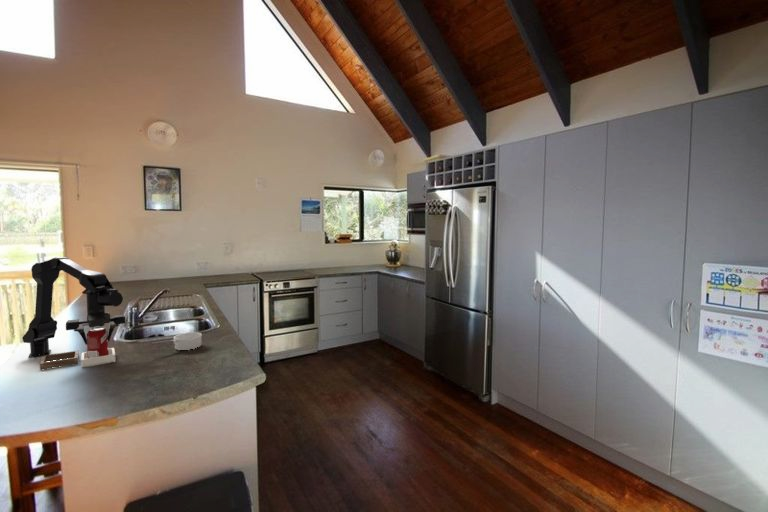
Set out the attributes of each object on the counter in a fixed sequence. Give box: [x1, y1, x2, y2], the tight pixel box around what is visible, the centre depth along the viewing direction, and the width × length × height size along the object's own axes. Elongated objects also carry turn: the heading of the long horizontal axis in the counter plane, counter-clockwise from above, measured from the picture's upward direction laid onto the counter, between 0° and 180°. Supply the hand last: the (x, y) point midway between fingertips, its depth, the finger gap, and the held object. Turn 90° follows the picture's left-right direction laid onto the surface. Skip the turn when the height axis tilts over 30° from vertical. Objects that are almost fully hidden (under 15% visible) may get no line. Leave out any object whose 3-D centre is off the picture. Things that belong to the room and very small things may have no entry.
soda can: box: [86, 326, 109, 358], centre depth 148 cm, size 7×7×12 cm
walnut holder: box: [39, 350, 80, 371], centre depth 146 cm, size 11×11×2 cm
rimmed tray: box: [80, 347, 116, 368], centre depth 149 cm, size 11×11×3 cm
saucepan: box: [151, 331, 203, 351], centre depth 163 cm, size 12×20×6 cm, turn 138°
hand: (97, 342), depth 148 cm, fingers closed on soda can, 7 cm apart
